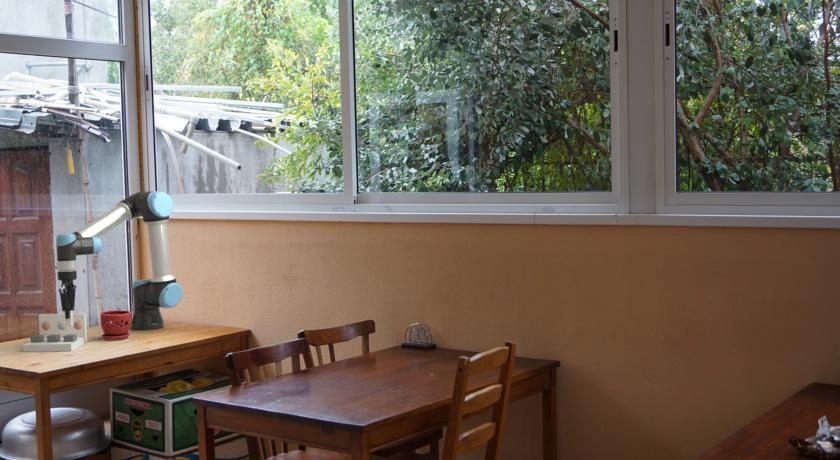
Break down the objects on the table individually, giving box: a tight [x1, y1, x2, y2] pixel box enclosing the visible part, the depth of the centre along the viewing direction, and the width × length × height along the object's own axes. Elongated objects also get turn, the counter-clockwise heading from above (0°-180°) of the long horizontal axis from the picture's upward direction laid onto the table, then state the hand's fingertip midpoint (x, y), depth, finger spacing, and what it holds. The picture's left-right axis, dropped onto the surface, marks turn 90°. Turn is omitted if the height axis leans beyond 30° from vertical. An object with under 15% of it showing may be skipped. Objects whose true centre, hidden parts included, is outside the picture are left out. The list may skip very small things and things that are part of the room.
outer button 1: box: [63, 334, 77, 342], centre depth 395 cm, size 4×4×3 cm
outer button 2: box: [29, 334, 44, 343], centre depth 395 cm, size 4×4×3 cm
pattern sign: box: [38, 312, 88, 342], centre depth 405 cm, size 20×5×13 cm, turn 89°
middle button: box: [47, 334, 60, 342], centre depth 395 cm, size 4×4×3 cm
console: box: [22, 338, 85, 353], centre depth 395 cm, size 20×14×3 cm
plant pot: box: [100, 309, 133, 341], centre depth 415 cm, size 13×13×12 cm
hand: (68, 326), depth 394 cm, fingers closed
